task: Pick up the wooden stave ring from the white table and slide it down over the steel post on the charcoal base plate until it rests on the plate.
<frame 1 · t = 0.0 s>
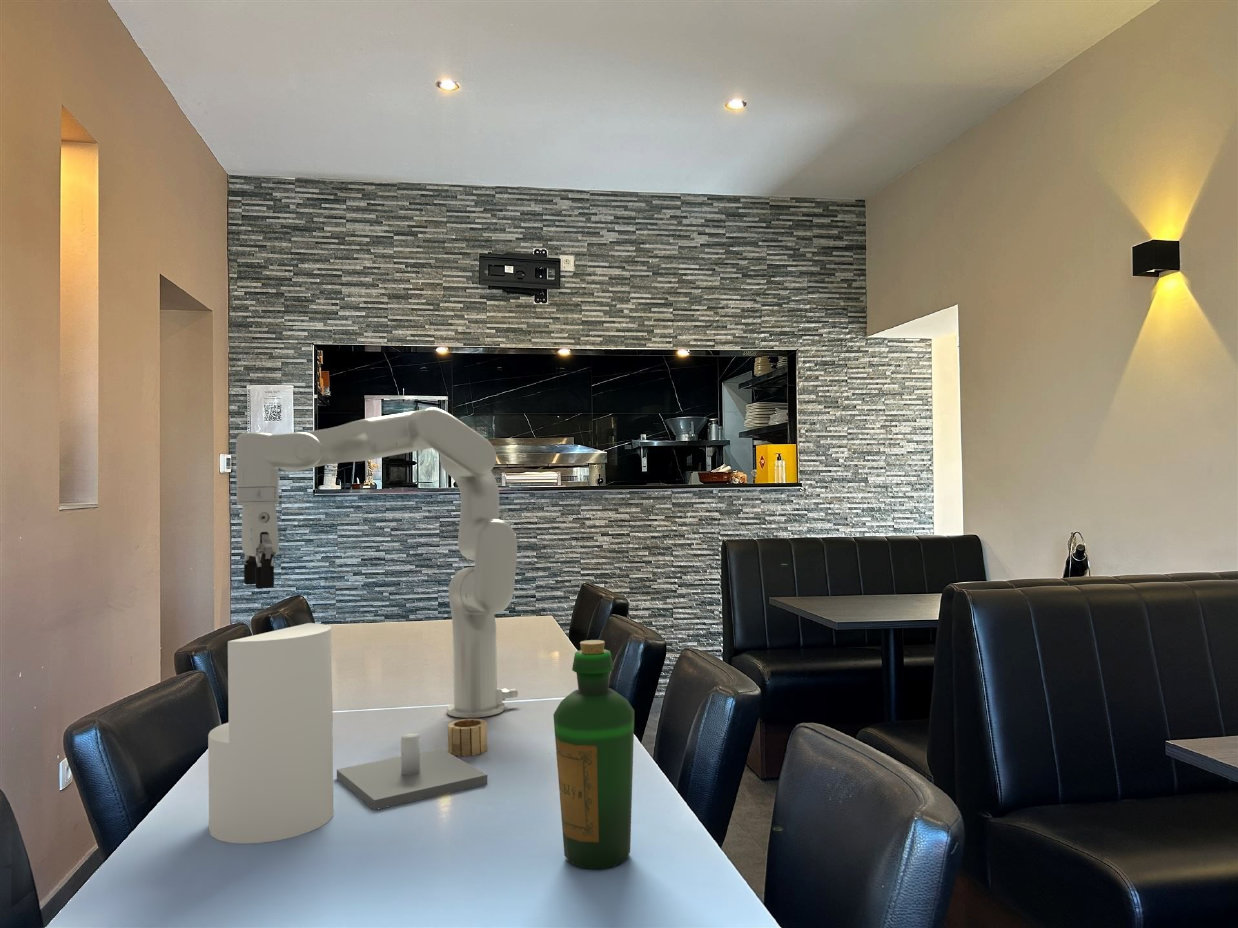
hand: (258, 585, 169), 31 cm above the table, tool pointing down, fingers open, 9 cm apart
bottle: (597, 858, 115), on the table
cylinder: (273, 821, 131), on the table
wooden stave ring: (467, 750, 164), on the table
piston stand: (410, 780, 147), on the table
soda can: (314, 741, 173), on the table
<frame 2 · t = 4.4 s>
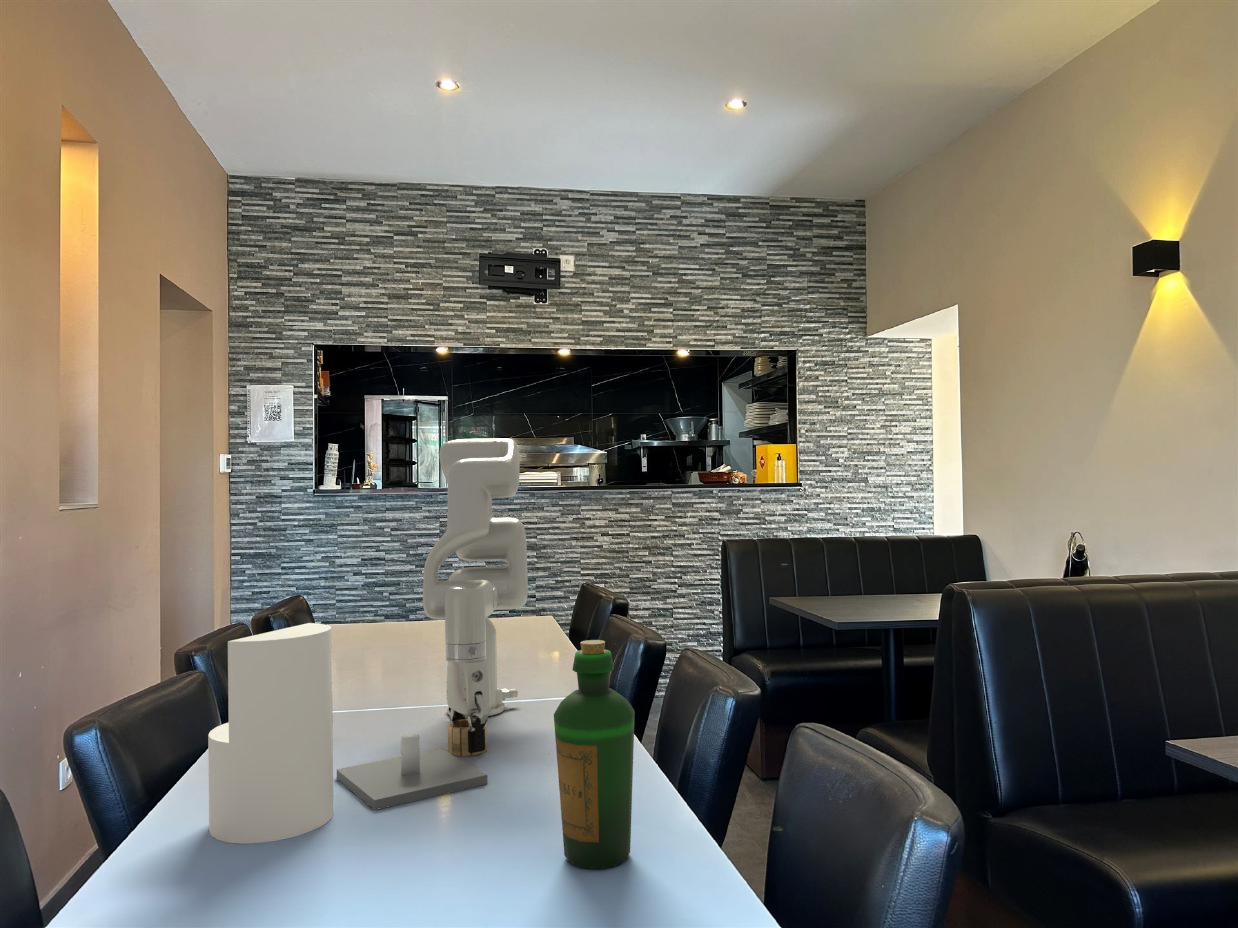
hand: (467, 746, 164), 1 cm above the table, tool pointing down, fingers closed on wooden stave ring, 7 cm apart
wooden stave ring: (467, 750, 164), on the table, touching gripper
everything else where it was.
when the fingers open (4 cm above the table, at t = 10.8 s): wooden stave ring drops 2 cm, resting on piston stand.
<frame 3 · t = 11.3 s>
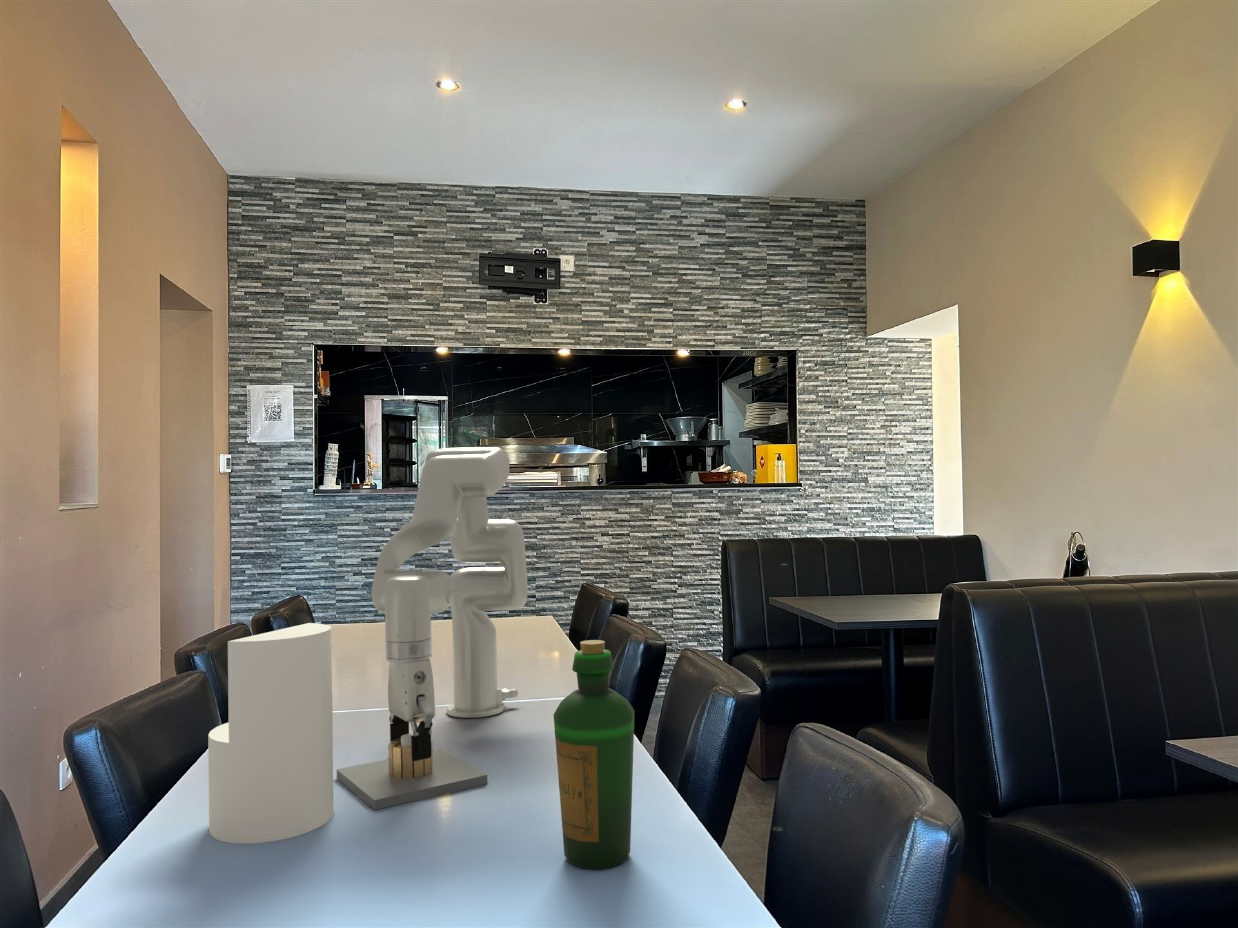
hand: (410, 752, 147), 5 cm above the table, tool pointing down, fingers open, 9 cm apart
wooden stave ring: (410, 771, 147), point 1 cm above the table, touching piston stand
everything else where it was.
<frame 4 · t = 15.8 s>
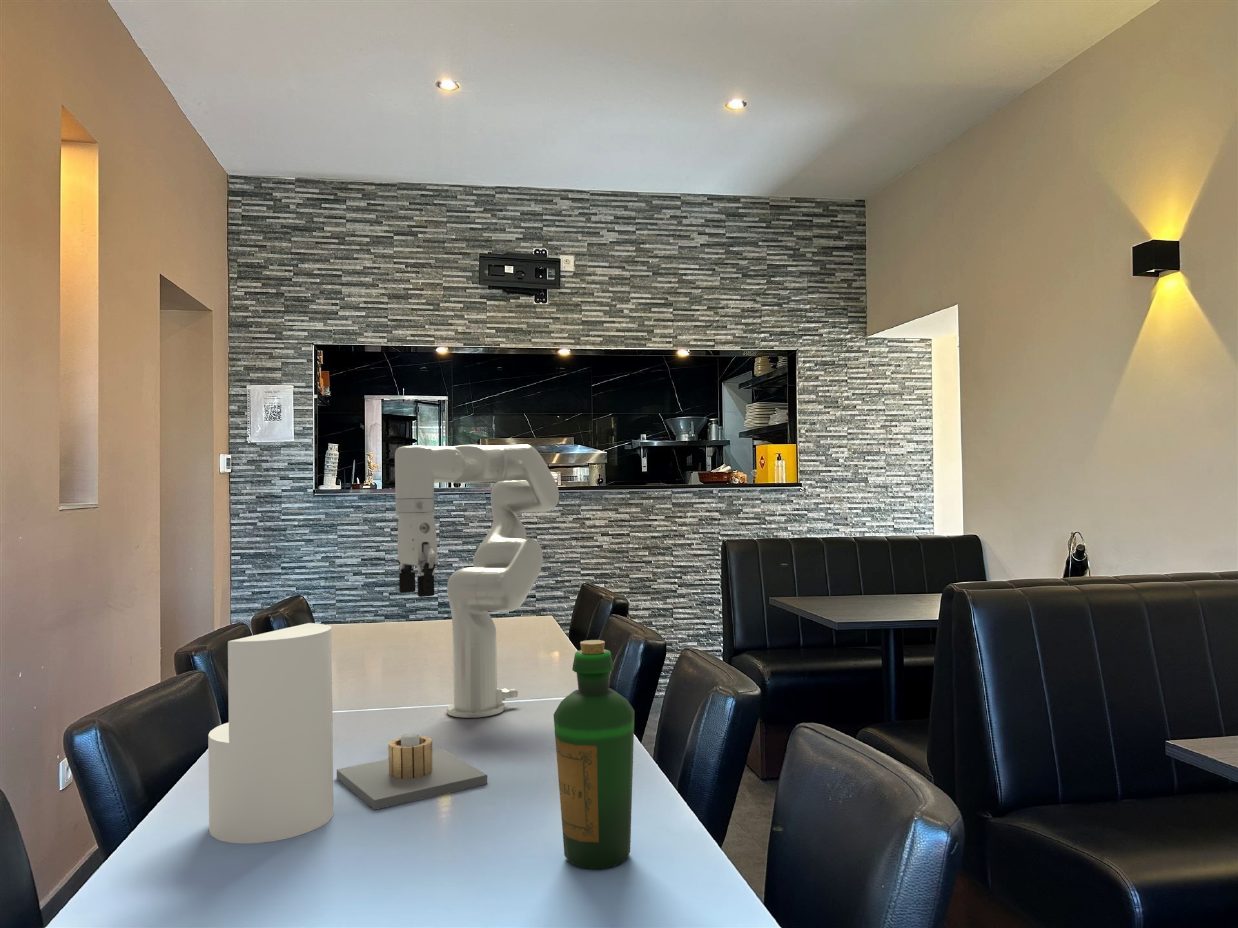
hand: (416, 594, 174), 28 cm above the table, tool pointing down, fingers open, 9 cm apart
nothing on the table moved.
at the end: wooden stave ring 0.1 cm from the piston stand (horizontally); wooden stave ring point 1.5 cm above the table; the gripper is holding nothing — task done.
